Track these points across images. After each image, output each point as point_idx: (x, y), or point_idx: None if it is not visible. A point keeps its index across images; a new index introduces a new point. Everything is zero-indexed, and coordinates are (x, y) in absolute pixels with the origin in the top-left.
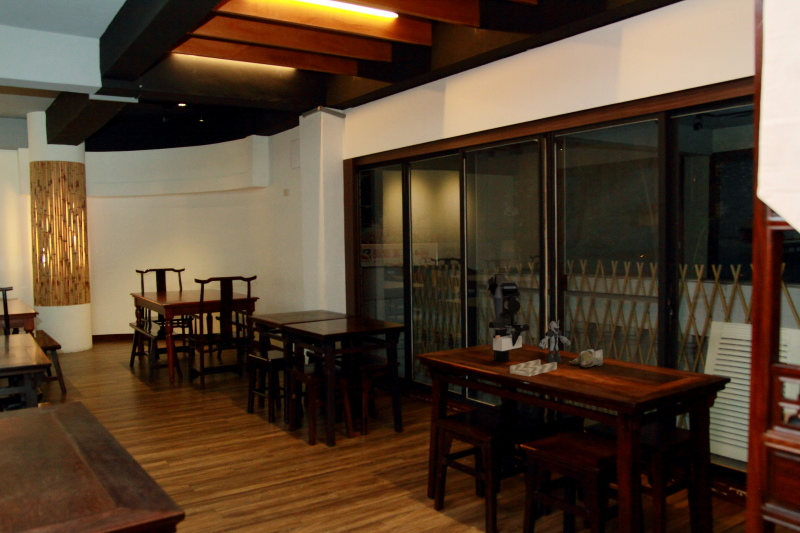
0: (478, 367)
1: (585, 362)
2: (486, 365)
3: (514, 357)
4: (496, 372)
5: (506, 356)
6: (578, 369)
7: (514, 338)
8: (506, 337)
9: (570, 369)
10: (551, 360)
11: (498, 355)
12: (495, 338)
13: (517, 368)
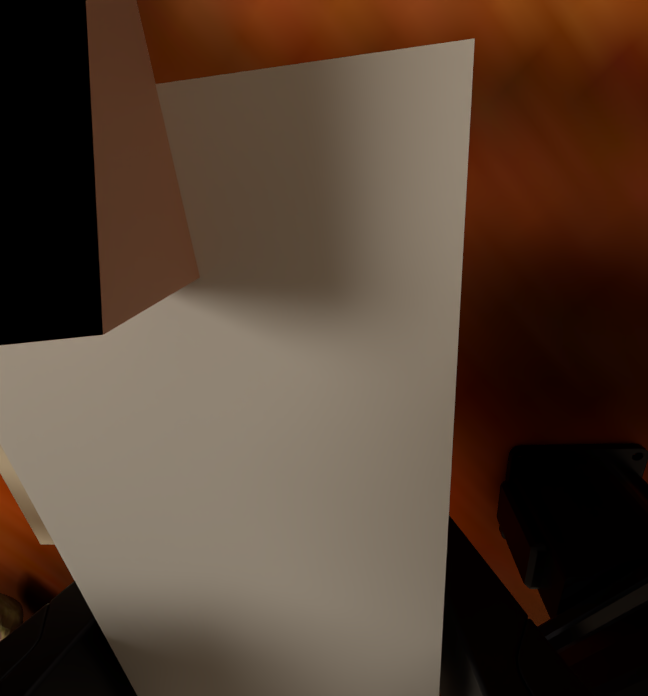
0: (576, 84)
1: (1, 635)
2: (559, 249)
3: (543, 610)
4: (226, 40)
5: (511, 518)
6: (21, 564)
7: (37, 628)
8: (241, 611)
9: (39, 543)
10: None
11: (589, 492)
12: (345, 158)
13: None
